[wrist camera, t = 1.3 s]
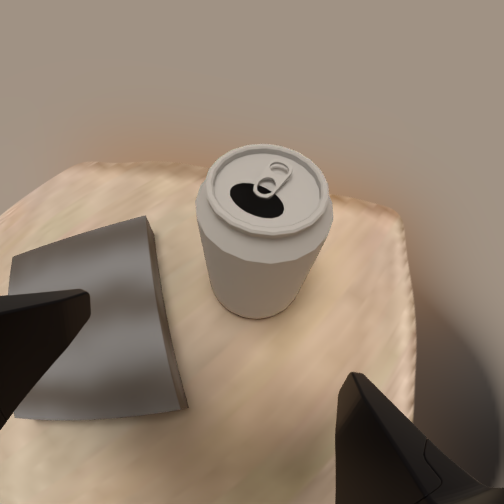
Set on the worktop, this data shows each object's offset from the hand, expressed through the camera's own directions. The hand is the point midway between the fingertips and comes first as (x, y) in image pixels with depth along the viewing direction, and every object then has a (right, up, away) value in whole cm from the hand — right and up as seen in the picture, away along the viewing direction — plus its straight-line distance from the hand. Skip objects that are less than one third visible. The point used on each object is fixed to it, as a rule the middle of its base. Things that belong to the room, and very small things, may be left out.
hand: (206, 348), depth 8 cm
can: (+2, +1, +16) cm, 16 cm away
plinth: (-13, -4, +12) cm, 19 cm away
